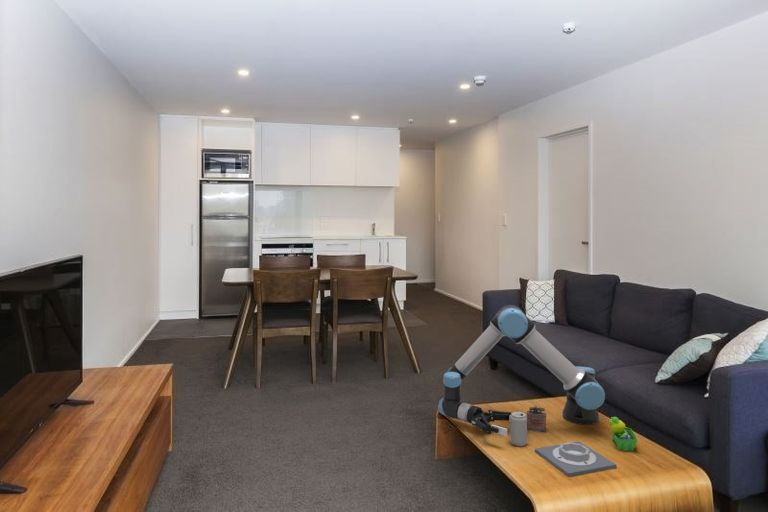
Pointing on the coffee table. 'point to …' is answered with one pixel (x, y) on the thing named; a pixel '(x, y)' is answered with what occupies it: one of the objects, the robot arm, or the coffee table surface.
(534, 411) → the brown piece
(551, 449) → the board
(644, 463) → the coffee table surface
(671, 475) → the coffee table surface
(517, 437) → the beverage can
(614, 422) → the fruit basket
